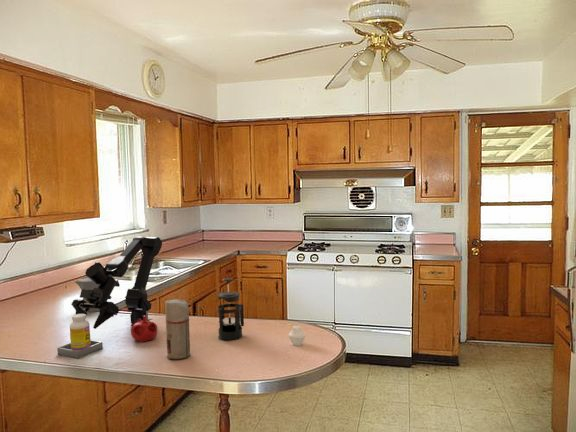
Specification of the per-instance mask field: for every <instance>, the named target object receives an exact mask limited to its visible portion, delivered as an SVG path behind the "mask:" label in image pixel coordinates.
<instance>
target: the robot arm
mask: <svg viewBox="0 0 576 432" xmlns="http://www.w3.org/2000/svg"><path fill="white" fill-rule="evenodd" d="M162 246H163V242H162V239H161V238H160V237H158V236H155V237H154V236H135V237H133V238H132V240H131V242H130V243H129V244H128V245H127V246H126V247H125V249H124V250H123V251H122V252H121V253H120V255H118V256H117V257H115V258H113V259H111V260H110V261H109V262H107V263H106V264H105V266H103V265H102V263H101V262H99V261H96V262H94V264H92V265H90V266H89V267H87V269H86V270H85V273H84V274H85V276H86V278H87V277H88V278H89V279H91V280H92V281H93V282H94V283H95V284H99V285H98V287H97V288H94V289H93V290H89V289H82V290H81V289H80V290H81V291H80V293H79V298H75V299H73V300H72V302H71V304H70V305H71V306H72V308H74V310H75V315H76V314H86V316H87V315H88V313H89V312H87V311H89V309H99V311H98V312H99V313H98V316H97V317H96V319H95V322H94V325H93V327H92V328H93V329H95V330H96V329H97V328H98V327H100V326H101V325H103V324H104V323H105V322H106V321H108V320H109V319H111V318H113V317H114V316H118V314H119V312H120V308H119V306H117V305H116V303H114V302H113V301H108V300H111V299H112V296H111V294H112V293H113V290H114V289H115V287H120V282H119V280H118V279H115V278H122V277H124V276H125V275H126V273H127V271H128V269H129V264H130V262H131V261H132V260H133V259H134V257H136V255H137V254H138V253H139V252H140V251H141V253H142V256H141V260H140V263H139V266H138V271H137V274H136V277H135V281H134V284H133V286H132V288H128V289H127V290H126V294H125V297H124V298H125V300H124V303H125V305H126V307H127V310H128V311H131V313H130V316H129V317H130V324H131V325H130V327H132V326H133V325H134V324H135V323H137V322H138V321H140V319H141V320H144V317H143V316H146V321H147V320H148V319H149V311H150V310H151V309H152V302H150V301H149V300H148V293H147V289H146V288H147V284H148V281H149V278H150V275H151V270H152V266H153V263H154V259H155V257H156V256H157V255H158V254H159V253H160V252H161V249H162ZM83 298H87V299H86V300H87V301H88V302H89V303H87V302H85V301H84V300H83ZM136 321H137V322H136ZM149 321H150V320H149ZM134 322H135V323H134ZM150 322H151V321H150Z"/></svg>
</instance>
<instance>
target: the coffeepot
mask: <svg viewBox="0 0 576 432" xmlns="http://www.w3.org/2000/svg"><path fill="white" fill-rule="evenodd" d="M74 283H75V284H76V285H77V286H78V287H79V288H80V290H82V289H89V290H93V289H94V288H97V287H98V285H99V284H95V283H94V282H93V281H92V280H91V279H89V278H88V277H87V276H86V277H85V278H82V279H79V280H76V281H75V282H74ZM82 299H83V300H84V301H85V302H87V303H89V302H88V301H87V300H86V299H87V298H82ZM93 312H94V313H95V312H99V309H89V311H87V313H93Z"/></svg>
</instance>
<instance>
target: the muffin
mask: <svg viewBox="0 0 576 432" xmlns="http://www.w3.org/2000/svg"><path fill="white" fill-rule="evenodd" d="M288 337H289V340H290V341H291V343H292V345H293V346H295V347H298V346H302V345H303V343H304V340H305V339H306V333H305V331H304V330H303V329H302V327H301V326H300V325H294V326H292V327H291V331H290V332H289V333H288Z"/></svg>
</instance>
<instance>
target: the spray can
mask: <svg viewBox="0 0 576 432" xmlns="http://www.w3.org/2000/svg"><path fill="white" fill-rule="evenodd" d="M164 306H165V307H164V309H165V311H164V312H165V330H166V331H165V333H166V354H167V355H166V358H168V359H169V360H180V359H186V358H187V359H188V358H189V357H190V356H191V344H190V343H191V340H190V337H191V336H190V316H189V305H188V302H187V301H186V300H184V299H180V298H173V299H168V300H165V301H164Z"/></svg>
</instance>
